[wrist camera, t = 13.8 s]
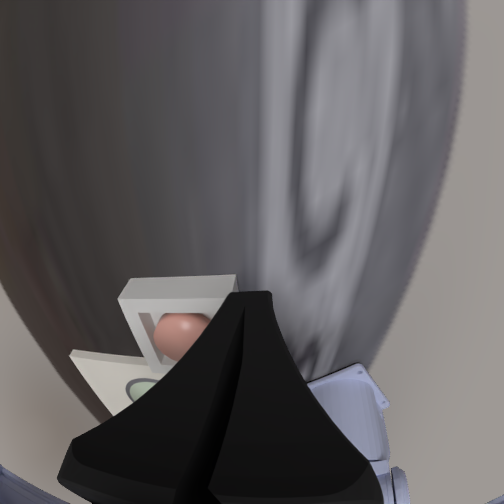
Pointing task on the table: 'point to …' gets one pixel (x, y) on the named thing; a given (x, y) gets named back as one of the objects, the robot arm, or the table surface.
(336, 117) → the table surface
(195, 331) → the button
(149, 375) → the picture board
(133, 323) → the button box
